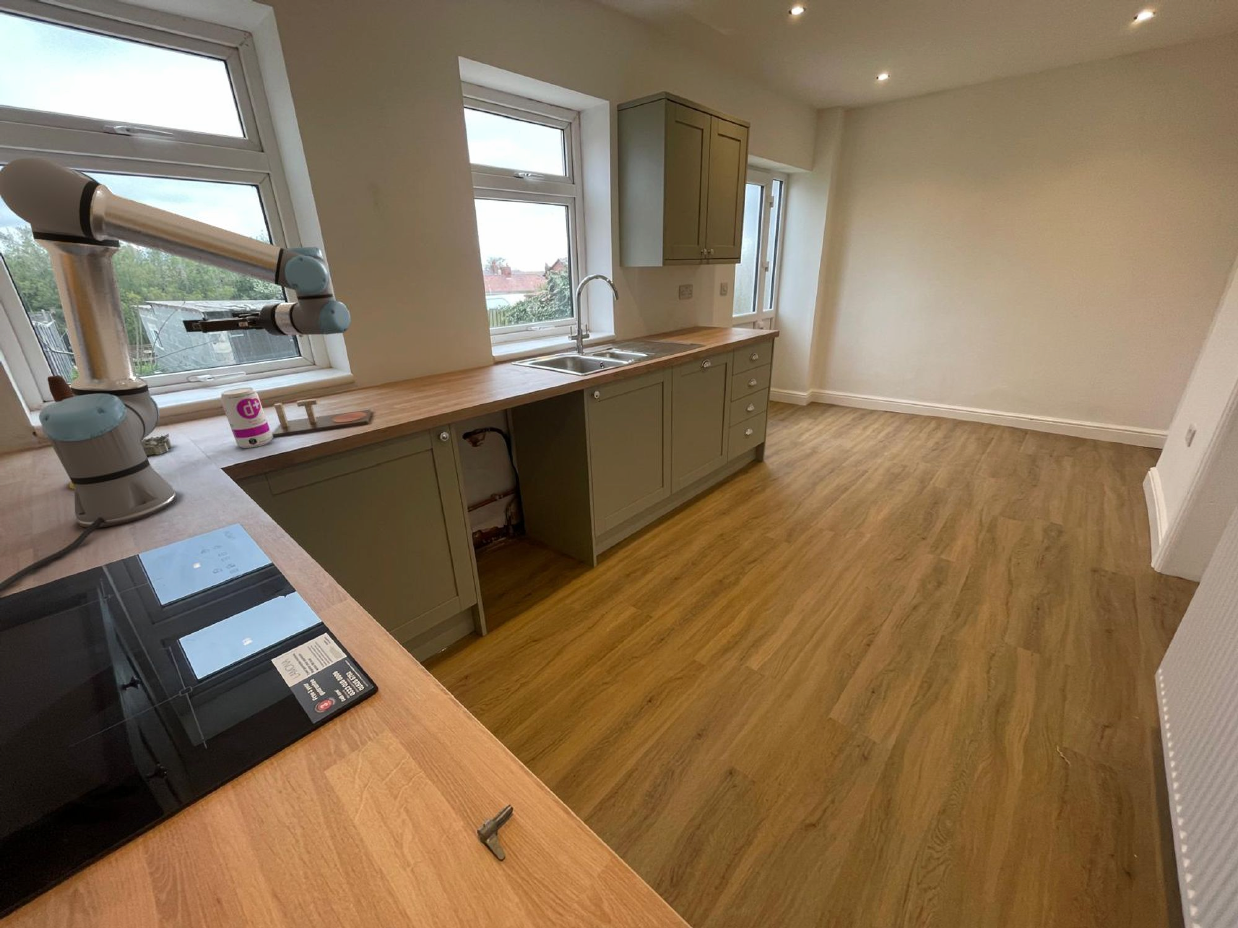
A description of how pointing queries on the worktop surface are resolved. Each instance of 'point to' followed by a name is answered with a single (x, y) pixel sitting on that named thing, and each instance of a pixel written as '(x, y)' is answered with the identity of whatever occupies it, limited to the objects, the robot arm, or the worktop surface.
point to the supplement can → (246, 417)
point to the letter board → (317, 420)
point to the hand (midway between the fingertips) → (211, 322)
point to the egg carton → (156, 445)
